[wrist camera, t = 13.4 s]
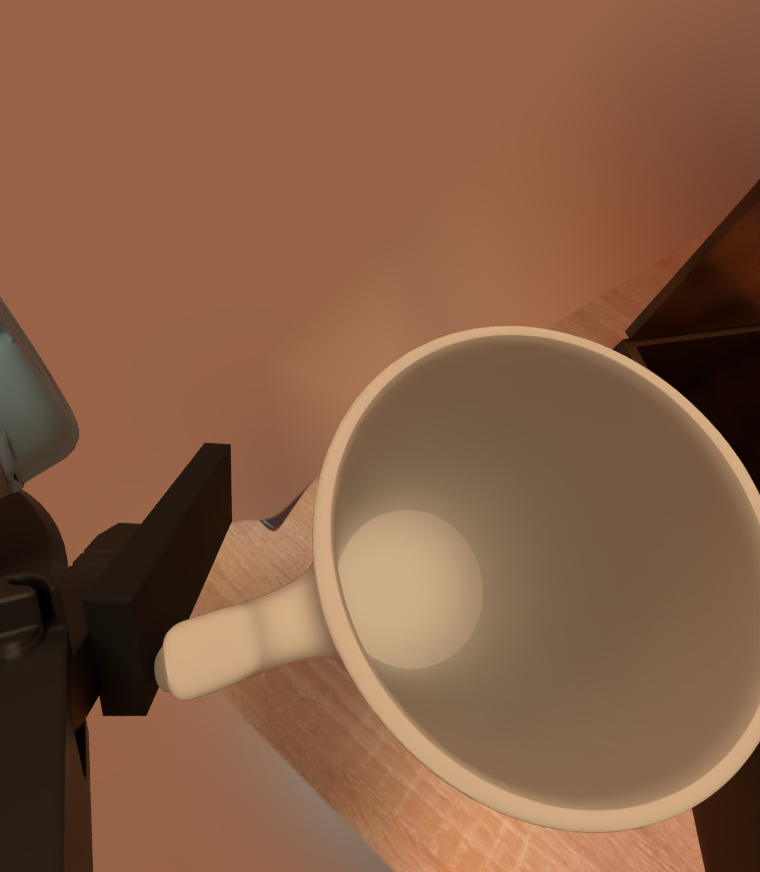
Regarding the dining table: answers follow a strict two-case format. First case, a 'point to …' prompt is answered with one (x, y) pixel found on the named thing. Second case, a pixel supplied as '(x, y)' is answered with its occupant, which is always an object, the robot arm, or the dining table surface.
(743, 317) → the lid
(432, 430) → the mug
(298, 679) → the dining table surface
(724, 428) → the chest
